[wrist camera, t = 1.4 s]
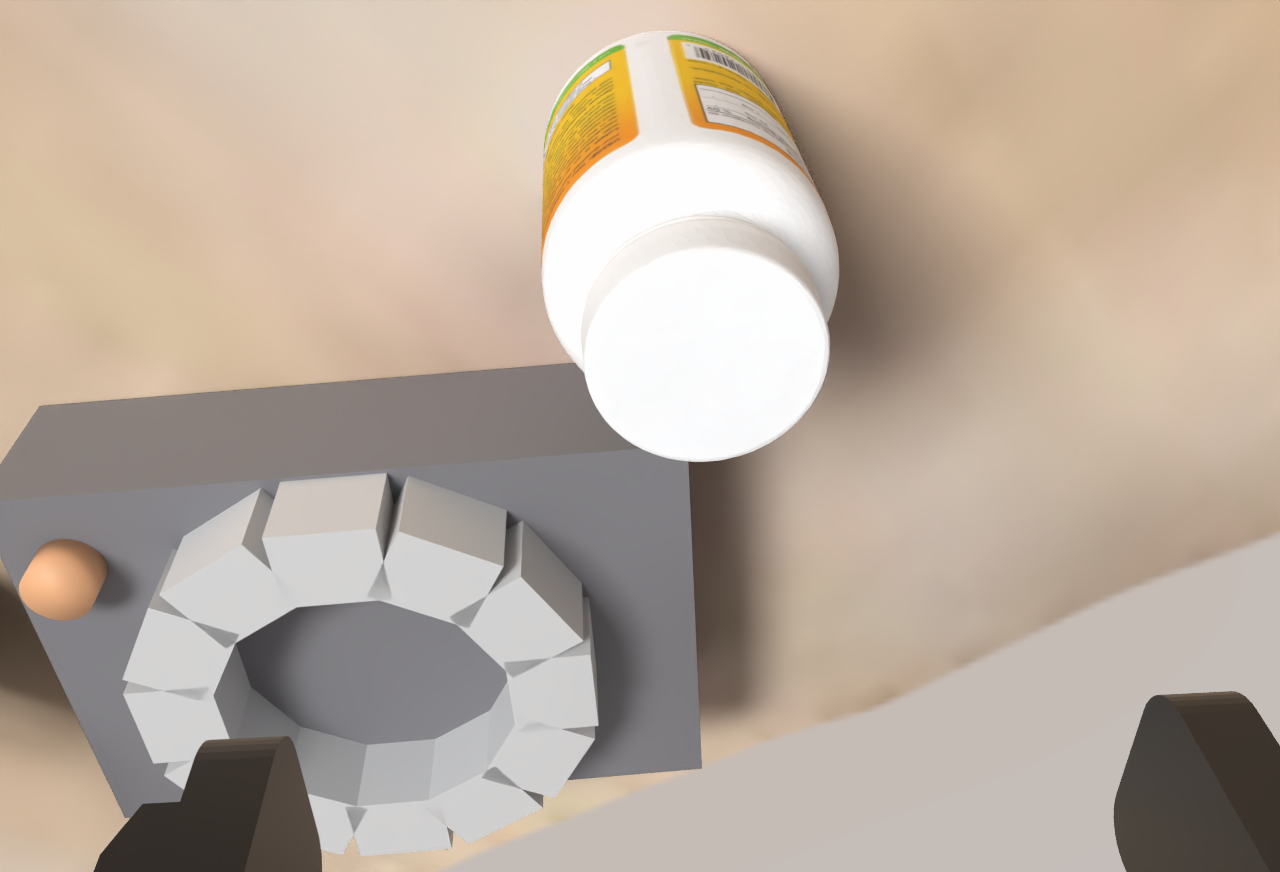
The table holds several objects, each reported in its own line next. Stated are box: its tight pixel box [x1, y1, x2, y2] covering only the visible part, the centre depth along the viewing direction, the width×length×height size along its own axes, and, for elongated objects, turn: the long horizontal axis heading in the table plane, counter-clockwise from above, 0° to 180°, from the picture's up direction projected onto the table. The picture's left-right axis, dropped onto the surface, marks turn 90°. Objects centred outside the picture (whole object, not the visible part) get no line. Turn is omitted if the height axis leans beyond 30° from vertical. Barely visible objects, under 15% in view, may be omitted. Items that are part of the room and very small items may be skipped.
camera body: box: [0, 363, 702, 856], centre depth 30 cm, size 16×11×6 cm
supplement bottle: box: [541, 30, 839, 462], centre depth 23 cm, size 5×5×10 cm
